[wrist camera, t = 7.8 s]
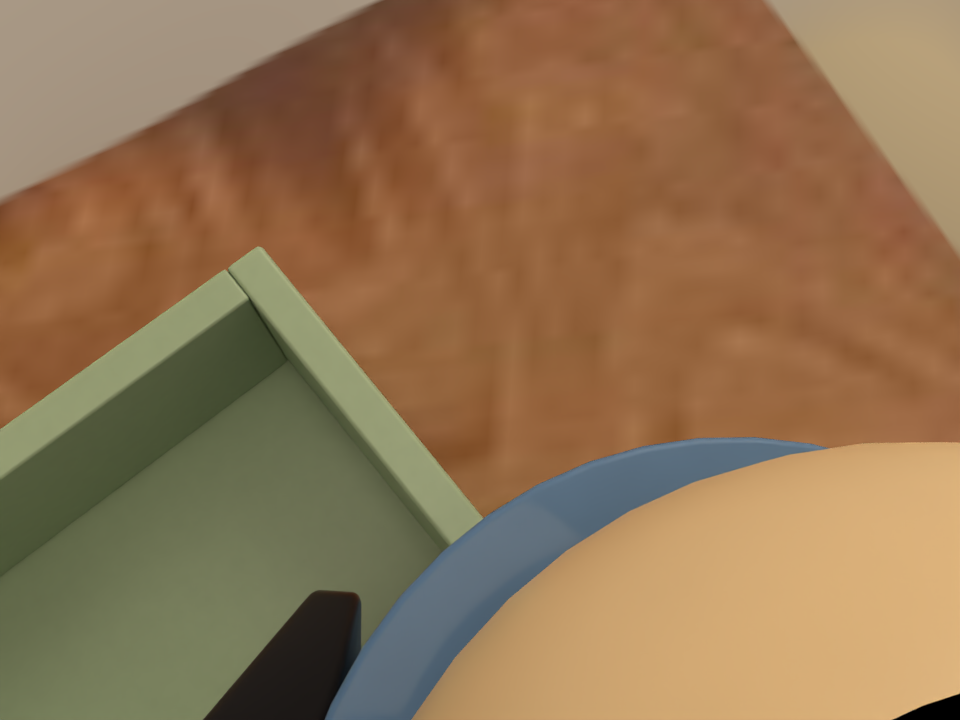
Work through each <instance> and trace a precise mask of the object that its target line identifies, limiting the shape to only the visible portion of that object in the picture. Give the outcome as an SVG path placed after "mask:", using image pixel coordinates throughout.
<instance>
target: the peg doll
mask: <svg viewBox="0 0 960 720" xmlns="http://www.w3.org/2000/svg"><path fill="white" fill-rule="evenodd" d="M325 720H960V443H952V442H916V443H863V444H857V445H850V446H843V447H837V448H826V447H822V446H818V445H814V444H809V443H800V442H791V441H783V440H774V439H765V438H756V437H738V438H696V439H689V440H682V441H675V442H669V443H662V444H655V445H648V446H642V447H639V448H635V449H632V450H629V451H625V452H622V453H618V454H615V455H611V456H608V457H604V458H601V459H597V460H594V461H590V462H588V463H585V464H583V465H581V466H579V467H576V468H574V469H572V470H570V471H567V472H565V473H563V474H560V475H558V476H556V477H554V478H551V479H549V480H547V481H545V482H542V483H540V484H538V485H536V486H534V487H533V488H531V489H529V490H528V491H526V492H525V493H523V494H521V495H520V496H518V497H516V498H515V499H513V500H511V501H510V502H508V503H506V504H505V505H503V506H502V507H500V508H498V509H497V510H495V511H493V512H492V513H490V514H488V515H487V516H486V517H485V518H483V519H482V520H481V521H480V522H478V523H477V524H476V525H475V526H474V527H472V528H471V529H470V530H469V531H467V532H466V533H465V534H464V535H462V536H461V537H460V538H459V539H457V540H456V541H455V542H454V543H453V544H451V545H450V546H449V547H448V548H446V549H445V550H444V551H443V552H442V553H441V554H440V555H439V556H438V557H437V558H436V559H435V560H434V561H433V562H432V563H431V564H430V565H429V566H428V567H427V568H426V569H425V570H424V571H423V572H422V574H421V575H420V576H419V577H418V578H417V579H416V580H415V581H414V582H413V583H412V584H411V585H410V586H409V587H408V588H407V589H406V590H405V591H404V592H403V594H402V595H401V596H400V597H399V598H398V600H397V601H396V602H395V604H394V605H393V606H392V608H391V609H390V610H389V612H388V613H387V615H386V616H385V617H384V619H383V620H382V621H381V623H380V624H379V625H378V627H377V628H376V629H375V631H374V632H373V634H372V635H371V636H370V638H369V639H368V640H367V642H366V643H365V644H364V646H363V647H362V649H361V651H360V653H359V654H358V656H357V658H356V660H355V662H354V663H353V665H352V667H351V669H350V671H349V672H348V674H347V676H346V678H345V680H344V681H343V683H342V685H341V687H340V689H339V690H338V692H337V694H336V696H335V698H334V699H333V701H332V703H331V705H330V707H329V710H328V712H327V715H326V717H325Z"/></svg>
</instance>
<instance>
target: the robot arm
mask: <svg viewBox="0 0 960 720" xmlns="http://www.w3.org/2000/svg"><path fill="white" fill-rule="evenodd" d="M360 651H361V599H360V597H359V595H358V594H356V593H355V592H346V591H329V590H317V591H314V592H312V593H311V594H310V595H309V596H308V597H307V598H306V599H305V600H304V602H303V603H302V604H301V605H300V606H299V608H298V609H297V610H296V611H295V612H294V613H293V615H292V616H291V617H290V618H289V619H288V620H287V622H286V623H285V624H284V625H283V626H282V627H281V629H280V630H279V631H278V632H277V633H276V634H275V636H274V637H273V638H272V639H271V640H270V642H269V643H268V644H267V645H266V646H265V647H264V649H263V650H262V651H261V652H260V653H259V654H258V656H257V657H256V658H255V659H254V660H253V661H252V663H251V664H250V665H249V666H248V667H247V668H246V670H245V671H244V672H243V673H242V674H241V675H240V677H239V678H238V679H237V680H236V681H235V683H234V684H233V685H232V686H231V687H230V688H229V690H228V691H227V692H226V693H225V694H224V695H223V697H222V698H221V699H220V700H219V701H218V702H217V704H216V705H215V706H214V707H213V708H212V709H211V711H210V712H209V713H208V714H207V715H206V717H205V718H204V719H203V720H325V717H326V715H327V712H328V710H329V707H330V705H331V703H332V701H333V699H334V698H335V696H336V694H337V692H338V690H339V689H340V687H341V685H342V683H343V681H344V680H345V678H346V676H347V674H348V672H349V671H350V669H351V667H352V665H353V663H354V662H355V660H356V658H357V656H358V654H359V653H360Z"/></svg>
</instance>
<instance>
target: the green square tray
mask: <svg viewBox="0 0 960 720" xmlns="http://www.w3.org/2000/svg"><path fill="white" fill-rule="evenodd" d="M228 271H229V272H228ZM228 271H226V270H223V271H221V272H220V273H219V274H217V275H216V276H214V277H213V278H212V279H210V280H209V281H207V282H206V283H205V284H203V285H202V286H200V287H199V288H198V289H196V290H195V291H193V292H192V293H191V294H189V295H188V296H186V297H185V298H184V299H182V300H181V301H179V302H178V303H177V304H175V305H174V306H172V307H171V308H170V309H168V310H167V311H165V312H164V313H163V314H161V315H160V316H158V317H157V318H156V319H154V320H153V321H151V322H150V323H149V324H147V325H146V326H144V327H143V328H141V329H140V330H139V331H137V332H136V333H134V334H133V335H132V336H130V337H129V338H127V339H126V340H125V341H123V342H122V343H120V344H119V345H118V346H116V347H115V348H113V349H112V350H111V351H109V352H108V353H106V354H105V355H104V356H102V357H101V358H99V359H98V360H97V361H95V362H94V363H92V364H91V365H90V366H88V367H87V368H85V369H84V370H83V371H81V372H80V373H78V374H77V375H76V376H74V377H73V378H71V379H70V380H69V381H67V382H66V383H64V384H63V385H62V386H60V387H59V388H57V389H56V390H55V391H53V392H52V393H50V394H49V395H48V396H46V397H45V398H43V399H42V400H41V401H39V402H38V403H36V404H35V405H34V406H32V407H31V408H29V409H28V410H27V411H25V412H24V413H22V414H21V415H20V416H18V417H17V418H15V419H14V420H13V421H11V422H10V423H8V424H7V425H6V426H4V427H3V428H1V429H0V720H203V719H204V718H205V717H206V715H207V714H208V713H209V712H210V711H211V709H212V708H213V707H214V706H215V705H216V704H217V702H218V701H219V700H220V699H221V698H222V697H223V695H224V694H225V693H226V692H227V691H228V690H229V688H230V687H231V686H232V685H233V684H234V683H235V681H236V680H237V679H238V678H239V677H240V675H241V674H242V673H243V672H244V671H245V670H246V668H247V667H248V666H249V665H250V664H251V663H252V661H253V660H254V659H255V658H256V657H257V656H258V654H259V653H260V652H261V651H262V650H263V649H264V647H265V646H266V645H267V644H268V643H269V642H270V640H271V639H272V638H273V637H274V636H275V634H276V633H277V632H278V631H279V630H280V629H281V627H282V626H283V625H284V624H285V623H286V622H287V620H288V619H289V618H290V617H291V616H292V615H293V613H294V612H295V611H296V610H297V609H298V608H299V606H300V605H301V604H302V603H303V602H304V600H305V599H306V598H307V597H308V596H309V595H310V594H311V593H312V592H314V591H317V590H329V591H346V592H355V593H356V594H358V595H359V597H360V599H361V649H362V647H363V646H364V644H365V643H366V642H367V640H368V639H369V638H370V636H371V635H372V634H373V632H374V631H375V629H376V628H377V627H378V625H379V624H380V623H381V621H382V620H383V619H384V617H385V616H386V615H387V613H388V612H389V610H390V609H391V608H392V606H393V605H394V604H395V602H396V601H397V600H398V598H399V597H400V596H401V595H402V594H403V592H404V591H405V590H406V589H407V588H408V587H409V586H410V585H411V584H412V583H413V582H414V581H415V580H416V579H417V578H418V577H419V576H420V575H421V574H422V572H423V571H424V570H425V569H426V568H427V567H428V566H429V565H430V564H431V563H432V562H433V561H434V560H435V559H436V558H437V557H438V556H439V555H440V554H441V553H442V552H443V551H444V550H445V549H446V548H448V547H449V546H450V545H451V544H453V543H454V542H455V541H456V540H457V539H459V538H460V537H461V536H462V535H464V534H465V533H466V532H467V531H469V530H470V529H471V528H472V527H474V526H475V525H476V524H477V523H478V522H480V521H481V520H482V519H483V517H482V516H481V515H480V513H479V512H478V511H477V510H476V508H475V507H474V506H473V505H472V504H471V502H470V501H469V500H468V499H467V497H466V496H465V495H464V494H463V493H462V491H461V490H460V489H459V488H458V486H457V485H456V484H455V483H454V481H453V480H452V479H451V478H450V477H449V475H448V474H447V473H446V472H445V470H444V469H443V468H442V467H441V466H440V464H439V463H438V462H437V461H436V459H435V458H434V457H433V456H432V455H431V453H430V452H429V451H428V450H427V448H426V447H425V446H424V445H423V444H422V442H421V441H420V440H419V439H418V437H417V436H416V435H415V434H414V432H413V431H412V430H411V429H410V428H409V426H408V425H407V424H406V423H405V421H404V420H403V419H402V418H401V417H400V415H399V414H398V413H397V412H396V410H395V409H394V408H393V407H392V406H391V404H390V403H389V402H388V401H387V399H386V398H385V397H384V396H383V395H382V393H381V392H380V391H379V390H378V388H377V387H376V386H375V385H374V383H373V382H372V381H371V380H370V379H369V377H368V376H367V375H366V374H365V372H364V371H363V370H362V369H361V368H360V366H359V365H358V364H357V363H356V361H355V360H354V359H353V358H352V357H351V355H350V354H349V353H348V352H347V350H346V349H345V348H344V347H343V346H342V344H341V343H340V342H339V341H338V339H337V338H336V337H335V336H334V334H333V333H332V332H331V331H330V330H329V328H328V327H327V326H326V325H325V323H324V322H323V321H322V320H321V319H320V317H319V316H318V315H317V314H316V312H315V311H314V310H313V309H312V308H311V306H310V305H309V304H308V303H307V301H306V300H305V299H304V298H303V297H302V295H301V294H300V293H299V292H298V290H297V289H296V288H295V287H294V285H293V284H292V283H291V282H290V281H289V279H288V278H287V277H286V276H285V274H284V273H283V272H282V271H281V270H280V268H279V267H278V266H277V265H276V263H275V262H274V261H273V260H272V259H271V257H270V256H269V255H268V254H267V252H266V251H265V250H264V249H263V248H261V247H256V248H255V249H253V250H252V251H250V252H249V253H248V254H246V255H245V256H243V257H242V258H241V259H239V260H238V261H236V262H235V263H234V264H232V265H231V266H230V267H229V268H228Z"/></svg>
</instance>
